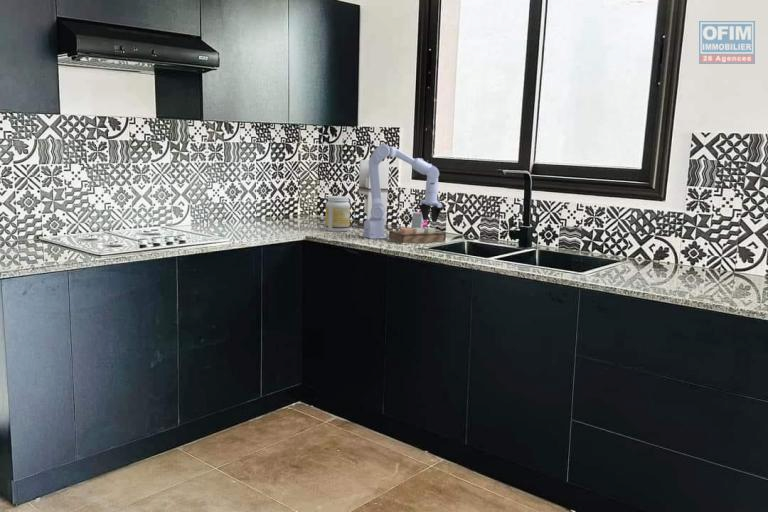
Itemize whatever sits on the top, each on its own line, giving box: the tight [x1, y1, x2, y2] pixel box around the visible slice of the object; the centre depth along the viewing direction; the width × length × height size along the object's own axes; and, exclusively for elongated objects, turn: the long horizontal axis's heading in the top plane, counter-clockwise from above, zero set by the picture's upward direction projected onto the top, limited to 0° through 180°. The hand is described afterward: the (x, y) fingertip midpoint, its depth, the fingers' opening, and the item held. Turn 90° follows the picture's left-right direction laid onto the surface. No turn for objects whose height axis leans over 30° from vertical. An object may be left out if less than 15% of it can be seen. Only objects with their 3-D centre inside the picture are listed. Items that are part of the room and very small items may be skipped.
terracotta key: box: [399, 227, 413, 233], centre depth 320 cm, size 4×4×4 cm
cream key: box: [410, 227, 424, 233], centre depth 324 cm, size 4×4×4 cm
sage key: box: [423, 226, 437, 233], centre depth 327 cm, size 4×4×4 cm
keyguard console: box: [388, 230, 447, 244], centre depth 324 cm, size 24×12×4 cm, turn 122°
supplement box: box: [411, 211, 429, 229], centre depth 343 cm, size 6×6×12 cm
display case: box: [356, 159, 390, 230], centre depth 358 cm, size 11×11×35 cm
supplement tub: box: [324, 195, 351, 233], centre depth 344 cm, size 12×12×17 cm
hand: (429, 220), depth 326 cm, fingers open, 7 cm apart
